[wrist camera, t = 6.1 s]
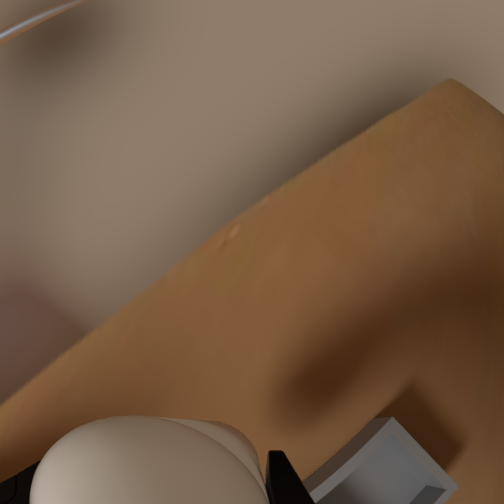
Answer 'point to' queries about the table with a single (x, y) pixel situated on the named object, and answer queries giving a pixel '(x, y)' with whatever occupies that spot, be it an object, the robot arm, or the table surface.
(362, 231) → the table surface
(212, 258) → the table surface
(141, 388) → the table surface
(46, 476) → the white dome-topped cylinder
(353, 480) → the two-compartment grey tray
